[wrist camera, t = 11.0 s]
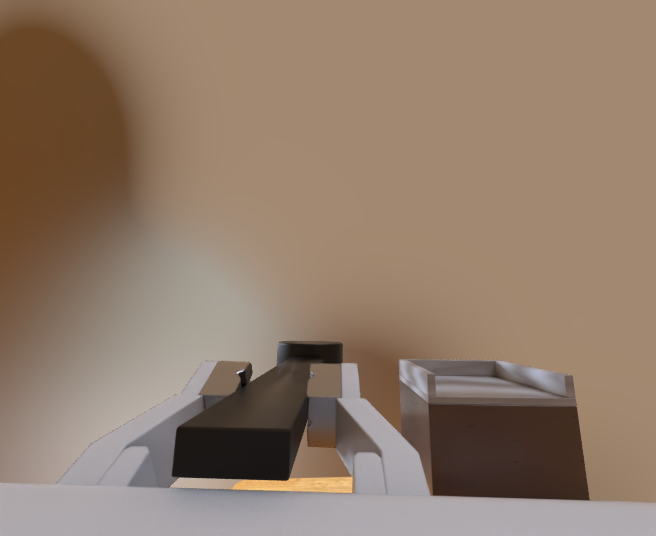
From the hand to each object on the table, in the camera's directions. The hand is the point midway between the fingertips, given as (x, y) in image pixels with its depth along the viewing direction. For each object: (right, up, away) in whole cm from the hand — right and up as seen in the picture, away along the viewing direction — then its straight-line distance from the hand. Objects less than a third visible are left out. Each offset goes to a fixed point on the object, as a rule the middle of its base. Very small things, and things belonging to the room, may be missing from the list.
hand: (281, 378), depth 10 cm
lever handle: (0, -1, +3) cm, 3 cm away
